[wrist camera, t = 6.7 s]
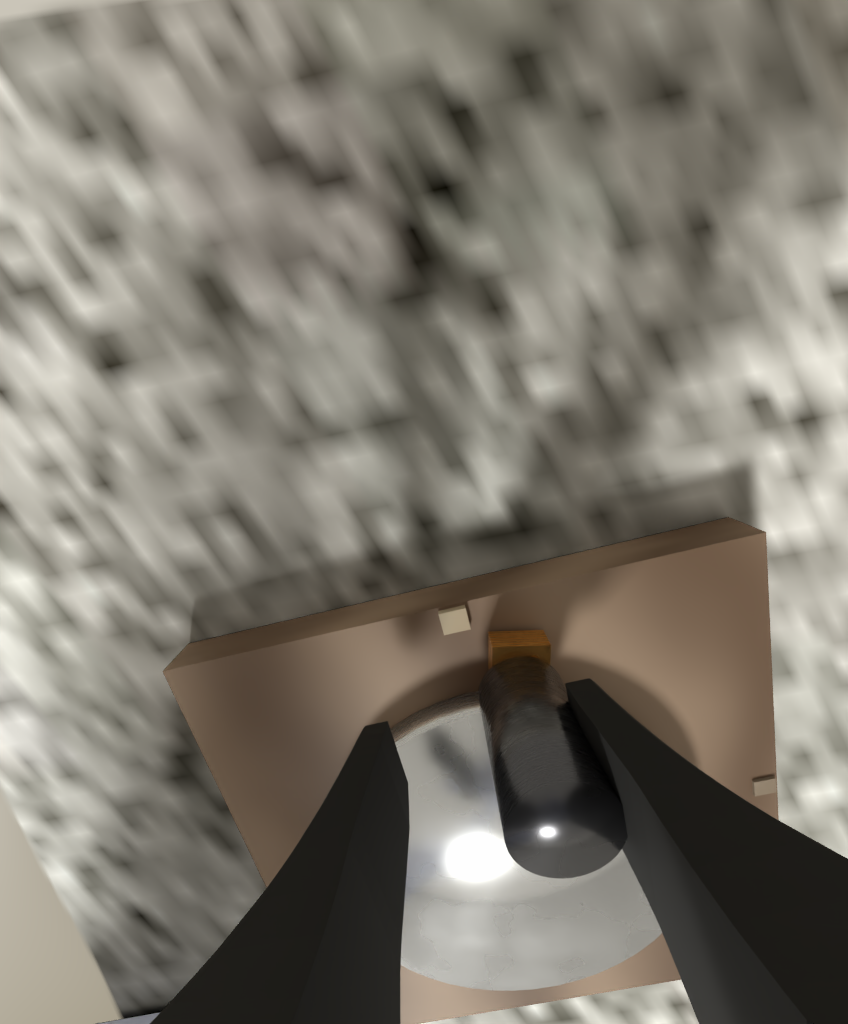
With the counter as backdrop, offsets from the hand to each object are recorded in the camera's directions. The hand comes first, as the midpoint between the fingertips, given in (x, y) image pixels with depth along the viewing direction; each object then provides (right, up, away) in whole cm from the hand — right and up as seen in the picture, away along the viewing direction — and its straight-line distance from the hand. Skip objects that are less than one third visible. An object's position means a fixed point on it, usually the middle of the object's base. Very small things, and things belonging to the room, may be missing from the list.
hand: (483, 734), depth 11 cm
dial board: (+2, -5, +5) cm, 8 cm away
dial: (+2, -6, +4) cm, 7 cm away
